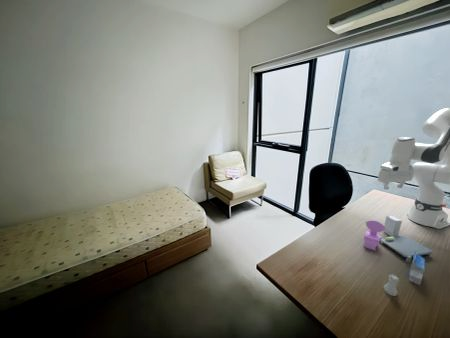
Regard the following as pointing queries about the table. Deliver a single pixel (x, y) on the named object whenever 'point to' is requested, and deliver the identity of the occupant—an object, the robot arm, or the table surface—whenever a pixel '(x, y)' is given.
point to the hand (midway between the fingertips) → (392, 188)
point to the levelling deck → (405, 246)
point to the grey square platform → (409, 256)
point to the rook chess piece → (391, 285)
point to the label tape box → (417, 269)
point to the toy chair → (373, 234)
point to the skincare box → (392, 226)
